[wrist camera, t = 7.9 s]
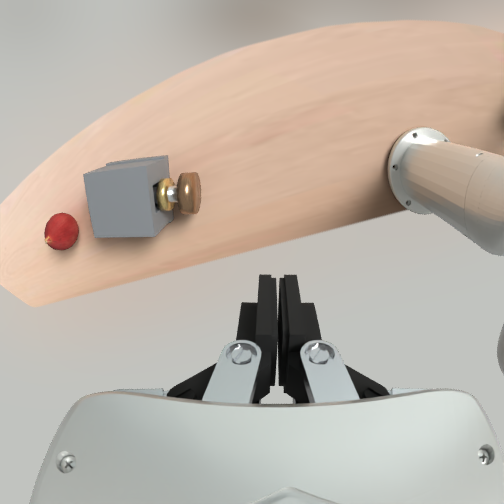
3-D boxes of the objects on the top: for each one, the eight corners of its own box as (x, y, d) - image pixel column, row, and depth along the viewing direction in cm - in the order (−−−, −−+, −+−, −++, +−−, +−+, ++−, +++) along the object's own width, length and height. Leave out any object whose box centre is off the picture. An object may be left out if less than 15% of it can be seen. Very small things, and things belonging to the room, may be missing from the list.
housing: (167, 155, 34) (145, 163, 27) (173, 218, 38) (155, 239, 31) (111, 162, 34) (83, 171, 28) (119, 220, 38) (95, 239, 32)
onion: (82, 245, 41) (55, 267, 33) (59, 227, 39) (31, 247, 32) (91, 218, 38) (62, 238, 31) (67, 200, 37) (36, 216, 30)
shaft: (199, 169, 33) (189, 176, 29) (202, 207, 36) (192, 219, 31) (113, 176, 34) (95, 185, 30) (118, 210, 36) (101, 222, 32)
